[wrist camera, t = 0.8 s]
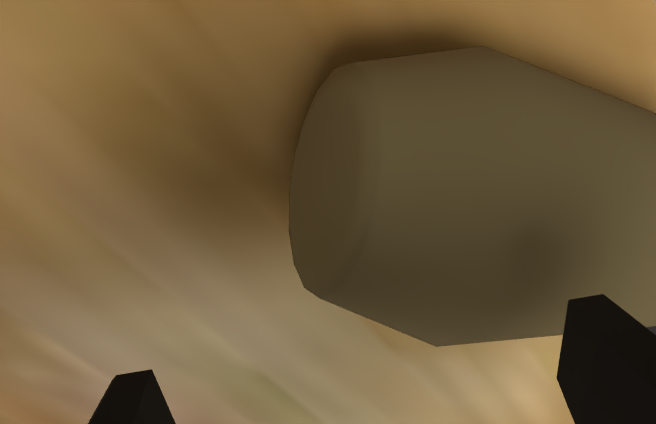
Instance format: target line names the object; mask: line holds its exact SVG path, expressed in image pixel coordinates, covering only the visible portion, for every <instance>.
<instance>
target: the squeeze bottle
mask: <svg viewBox="0 0 656 424" xmlns="http://www.w3.org/2000/svg"><path fill="white" fill-rule="evenodd" d="M289 235H290V241H291V248H292V254H293V261H294V265H295V267H296V270H297V272H298V274H299V276H300V279H301V281H302V283H303V286H304V288H306V289H307V290H309V291H310V292H311V293H313V294H314V295H316V296H317V297H319V298H320V299H323V300H325V301H328V302H330V303H332V304H335V305H337V306H340V307H342V308H344V309H347V310H349V311H352V312H354V313H356V314H359V315H361V316H364V317H366V318H369V319H371V320H373V321H376V322H378V323H381V324H383V325H385V326H388V327H390V328H393V329H395V330H397V331H400V332H402V333H405V334H407V335H410V336H412V337H414V338H417V339H419V340H422V341H424V342H426V343H429V344H431V345H434V346H436V347H437V346H448V345H459V344H469V343H480V342H491V341H502V340H512V339H523V338H534V337H544V336H555V335H563V332H564V325H565V319H566V312H567V305H568V300H570V299H576V298H582V297H588V296H594V295H600V294H604V295H605V296H607V297H608V298H609V299H610V300H612V301H613V302H614V303H616V304H617V305H618V306H619V307H621V308H622V309H623V310H625V311H626V312H627V313H628V314H630V315H631V316H632V317H634V318H635V319H636V320H637V321H639V322H640V323H641V324H642V325H644V326H645V327H652V326H656V113H653V112H651V111H648V110H646V109H643V108H641V107H638V106H635V105H633V104H630V103H628V102H625V101H623V100H620V99H618V98H615V97H612V96H610V95H607V94H605V93H602V92H600V91H597V90H595V89H592V88H589V87H587V86H584V85H582V84H579V83H577V82H574V81H571V80H569V79H566V78H564V77H561V76H559V75H556V74H554V73H551V72H548V71H546V70H543V69H541V68H538V67H536V66H533V65H531V64H528V63H525V62H523V61H520V60H518V59H515V58H513V57H510V56H507V55H505V54H502V53H500V52H497V51H495V50H492V49H490V48H487V47H484V46H480V47H472V48H464V49H456V50H448V51H440V52H432V53H424V54H417V55H409V56H401V57H393V58H385V59H377V60H369V61H361V62H353V63H350V64H346V65H343V66H339V67H336V68H335V69H334V70H333V71H332V72H331V73H330V75H329V76H328V77H327V78H326V79H325V81H324V82H323V83H322V84H321V85H320V86H319V88H318V90H317V92H316V94H315V96H314V98H313V101H312V103H311V105H310V107H309V109H308V112H307V114H306V116H305V118H304V122H303V125H302V129H301V133H300V136H299V140H298V144H297V147H296V151H295V155H294V162H293V169H292V176H291V184H290V191H289Z"/></svg>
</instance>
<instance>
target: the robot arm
mask: <svg viewBox="0 0 656 424" xmlns="http://www.w3.org/2000/svg"><path fill="white" fill-rule="evenodd" d="M557 380H558V382H559V385H560V388H561V390H562V393H563V395H564V398H565V400H566V403H567V405H568V408H569V410H570V413H571V415H572V417H573V420H574V422H575V424H656V335H655V334H654V333H653V332H651V331H650V330H649V329H647V328H646V327H645V326H644V325H642V324H641V323H640V322H639V321H637V320H636V319H635V318H634V317H632V316H631V315H630V314H628V313H627V312H626V311H625V310H623V309H622V308H621V307H619V306H618V305H617V304H616V303H614V302H613V301H612V300H610V299H609V298H608V297H607V296H605V295H604V294H600V295H594V296H588V297H582V298H576V299H570V300H568V305H567V312H566V319H565V325H564V332H563V339H562V345H561V352H560V359H559V366H558V372H557ZM88 424H176V423H175V421H174V419H173V417H172V414H171V412H170V410H169V407H168V405H167V403H166V401H165V398H164V396H163V394H162V391H161V389H160V387H159V385H158V382H157V380H156V378H155V376H154V373H153V371H152V369H151V370H145V371H139V372H133V373H127V374H121V375H116V376H115V378H114V379H113V380H112V381H111V383H110V385H109V387H108V389H107V390H106V392H105V394H104V396H103V398H102V399H101V401H100V403H99V405H98V407H97V408H96V410H95V412H94V414H93V416H92V417H91V419H90V421H89V423H88Z"/></svg>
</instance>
